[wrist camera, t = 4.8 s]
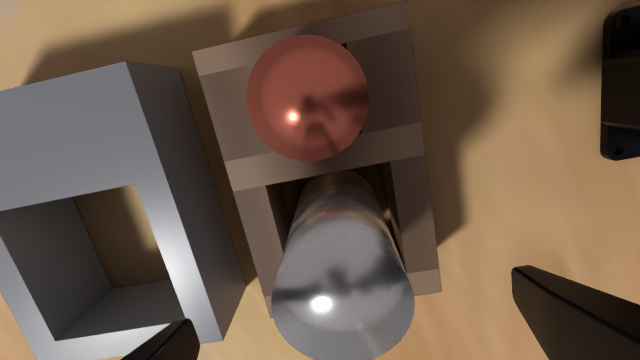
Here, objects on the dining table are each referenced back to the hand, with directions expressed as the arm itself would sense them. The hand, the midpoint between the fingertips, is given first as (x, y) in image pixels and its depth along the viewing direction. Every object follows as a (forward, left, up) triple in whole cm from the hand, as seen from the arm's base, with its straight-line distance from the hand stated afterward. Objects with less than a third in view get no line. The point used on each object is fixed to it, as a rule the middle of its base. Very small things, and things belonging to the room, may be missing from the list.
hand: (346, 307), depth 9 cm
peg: (0, 0, -8) cm, 8 cm away
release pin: (0, -6, -7) cm, 9 cm away
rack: (+11, -2, -8) cm, 14 cm away
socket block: (0, -2, -8) cm, 8 cm away
